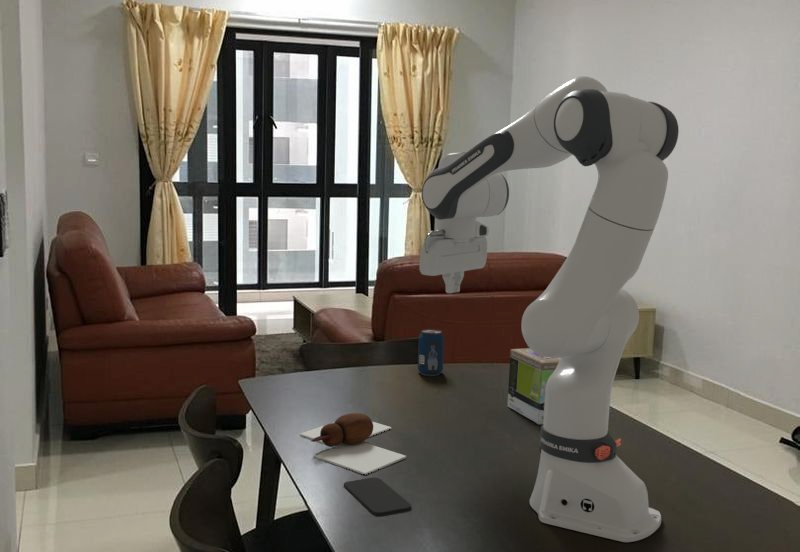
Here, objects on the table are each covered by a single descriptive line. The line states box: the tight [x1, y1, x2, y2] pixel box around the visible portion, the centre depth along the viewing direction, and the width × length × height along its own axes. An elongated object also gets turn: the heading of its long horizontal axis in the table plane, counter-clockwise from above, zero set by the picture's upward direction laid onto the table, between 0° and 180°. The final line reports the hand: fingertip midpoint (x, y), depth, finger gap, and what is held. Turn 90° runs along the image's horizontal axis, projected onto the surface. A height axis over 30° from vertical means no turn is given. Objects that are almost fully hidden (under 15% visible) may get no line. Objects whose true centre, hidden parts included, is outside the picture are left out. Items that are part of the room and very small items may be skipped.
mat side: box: [314, 441, 407, 476], centre depth 171 cm, size 14×12×1 cm
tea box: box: [507, 347, 560, 425], centre depth 201 cm, size 15×10×15 cm, turn 22°
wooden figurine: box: [310, 412, 374, 447], centre depth 176 cm, size 7×6×15 cm
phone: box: [343, 477, 412, 517], centre depth 152 cm, size 7×1×15 cm
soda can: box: [417, 328, 445, 377], centre depth 235 cm, size 7×7×12 cm
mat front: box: [299, 421, 392, 448], centre depth 186 cm, size 12×17×1 cm
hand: (452, 292), depth 184 cm, fingers closed
